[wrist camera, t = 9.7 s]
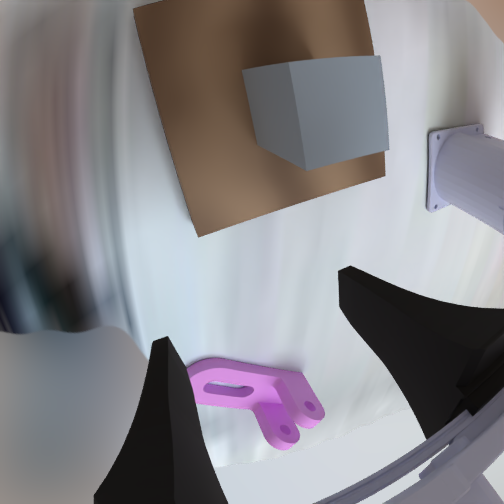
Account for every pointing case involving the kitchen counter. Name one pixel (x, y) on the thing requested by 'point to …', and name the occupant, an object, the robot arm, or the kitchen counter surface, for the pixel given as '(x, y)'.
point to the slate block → (319, 109)
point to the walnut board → (242, 98)
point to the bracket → (260, 396)
